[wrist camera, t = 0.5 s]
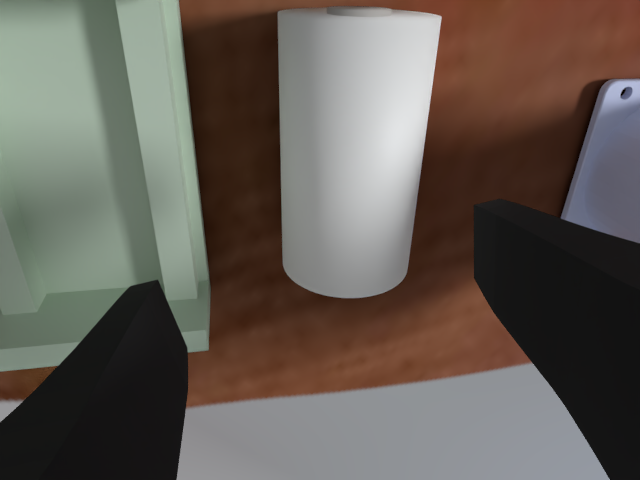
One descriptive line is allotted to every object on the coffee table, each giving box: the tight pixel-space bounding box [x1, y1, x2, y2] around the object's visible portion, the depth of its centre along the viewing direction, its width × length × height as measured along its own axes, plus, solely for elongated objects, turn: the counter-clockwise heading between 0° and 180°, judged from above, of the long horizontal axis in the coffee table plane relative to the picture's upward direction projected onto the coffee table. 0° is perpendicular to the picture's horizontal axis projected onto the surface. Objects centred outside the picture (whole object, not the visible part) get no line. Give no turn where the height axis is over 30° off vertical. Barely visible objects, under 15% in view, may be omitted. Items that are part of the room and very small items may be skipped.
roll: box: [278, 6, 442, 298], centre depth 17 cm, size 9×5×5 cm, turn 179°
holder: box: [0, 0, 211, 372], centre depth 16 cm, size 13×8×4 cm, turn 179°
